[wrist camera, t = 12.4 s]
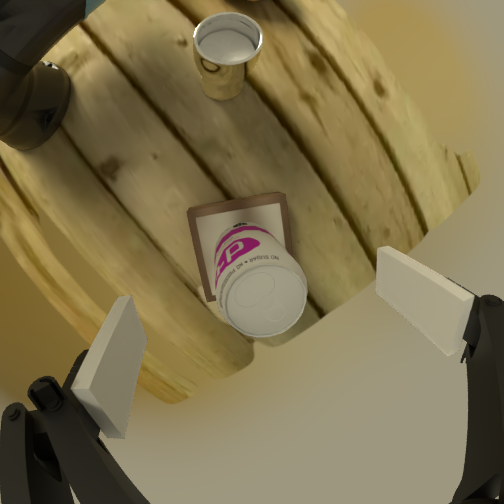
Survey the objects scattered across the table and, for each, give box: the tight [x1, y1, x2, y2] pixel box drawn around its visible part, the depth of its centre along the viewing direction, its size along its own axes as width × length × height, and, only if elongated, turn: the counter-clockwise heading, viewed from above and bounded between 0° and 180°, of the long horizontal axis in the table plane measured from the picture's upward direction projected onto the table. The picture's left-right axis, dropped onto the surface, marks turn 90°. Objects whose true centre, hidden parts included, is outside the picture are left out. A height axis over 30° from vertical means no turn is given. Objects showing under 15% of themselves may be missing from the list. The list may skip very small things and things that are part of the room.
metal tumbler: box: [193, 12, 264, 100], centre depth 27 cm, size 7×7×15 cm
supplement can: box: [214, 222, 308, 338], centre depth 30 cm, size 8×8×15 cm
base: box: [187, 192, 293, 302], centre depth 39 cm, size 13×13×4 cm
